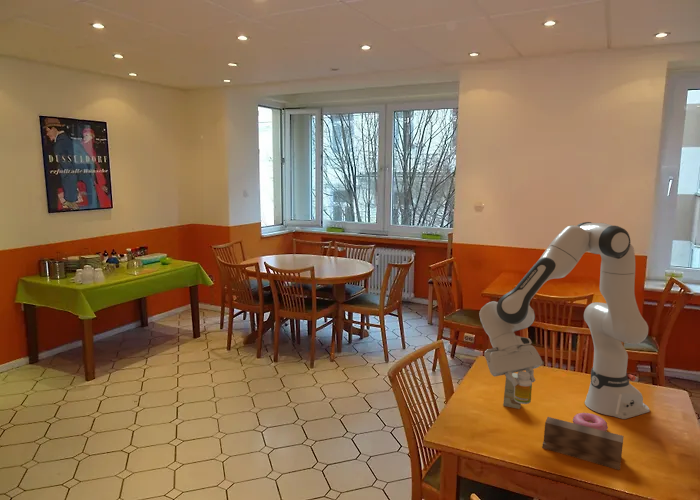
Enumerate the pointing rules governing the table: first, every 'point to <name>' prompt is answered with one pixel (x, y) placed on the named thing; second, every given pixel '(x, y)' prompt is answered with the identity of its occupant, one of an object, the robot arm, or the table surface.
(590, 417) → the doughnut
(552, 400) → the table surface
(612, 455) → the beam
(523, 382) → the supplement bottle
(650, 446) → the table surface
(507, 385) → the skincare box
